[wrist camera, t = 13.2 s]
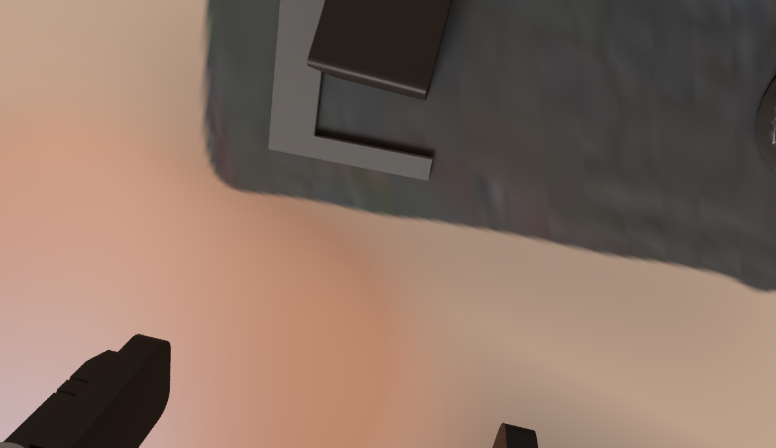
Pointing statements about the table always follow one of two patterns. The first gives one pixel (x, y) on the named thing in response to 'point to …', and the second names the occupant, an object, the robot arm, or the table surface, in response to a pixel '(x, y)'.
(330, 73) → the phone stand
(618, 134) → the table surface
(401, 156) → the bracket
